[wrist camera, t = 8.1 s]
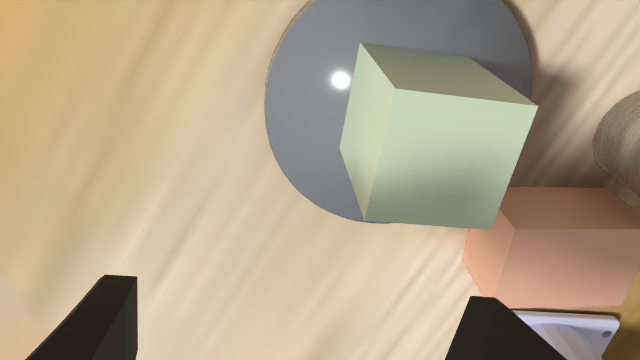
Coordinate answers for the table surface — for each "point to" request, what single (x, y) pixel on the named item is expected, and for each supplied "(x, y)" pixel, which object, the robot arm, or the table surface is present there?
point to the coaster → (338, 69)
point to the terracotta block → (556, 248)
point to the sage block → (431, 137)
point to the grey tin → (620, 142)
